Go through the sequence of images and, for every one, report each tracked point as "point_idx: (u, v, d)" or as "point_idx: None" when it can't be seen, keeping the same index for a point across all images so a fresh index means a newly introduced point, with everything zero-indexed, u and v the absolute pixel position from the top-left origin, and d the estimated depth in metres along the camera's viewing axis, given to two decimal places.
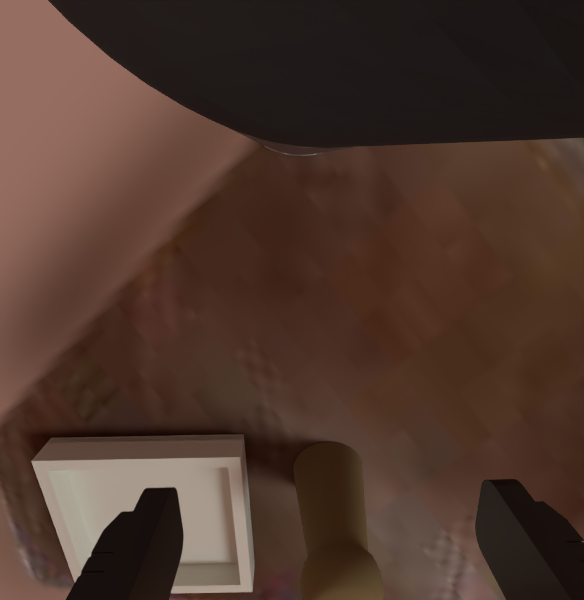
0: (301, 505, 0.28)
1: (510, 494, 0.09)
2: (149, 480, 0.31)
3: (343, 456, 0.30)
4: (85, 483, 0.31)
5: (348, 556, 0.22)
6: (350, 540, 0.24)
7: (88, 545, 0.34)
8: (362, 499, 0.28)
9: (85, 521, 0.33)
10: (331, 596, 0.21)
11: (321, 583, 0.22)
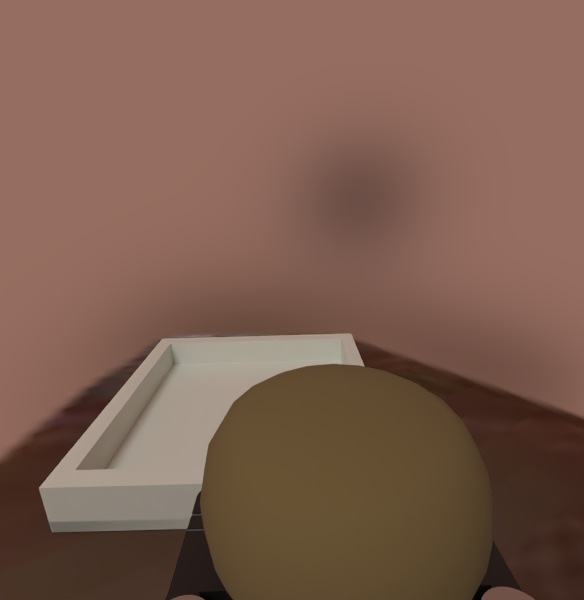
0: None
1: None
2: None
3: None
4: (300, 367, 0.29)
5: None
6: None
7: (212, 359, 0.31)
8: None
9: (245, 363, 0.30)
10: (411, 384, 0.07)
11: None
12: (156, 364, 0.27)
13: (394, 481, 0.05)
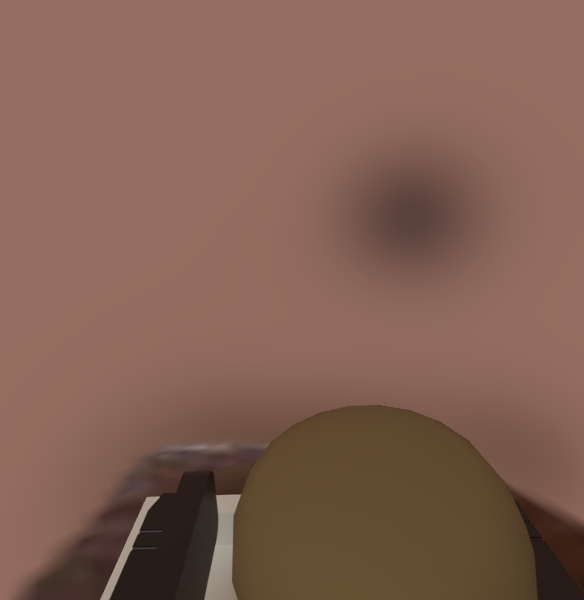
0: None
1: None
2: None
3: None
4: None
5: None
6: None
7: None
8: None
9: None
10: (433, 426, 0.07)
11: None
12: None
13: (427, 562, 0.05)
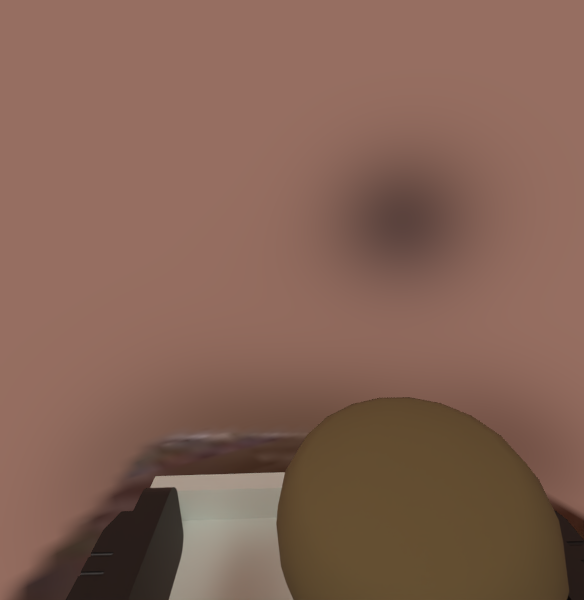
0: None
1: None
2: None
3: None
4: None
5: None
6: None
7: (238, 514, 0.19)
8: None
9: None
10: (466, 421, 0.07)
11: None
12: None
13: (475, 560, 0.05)
